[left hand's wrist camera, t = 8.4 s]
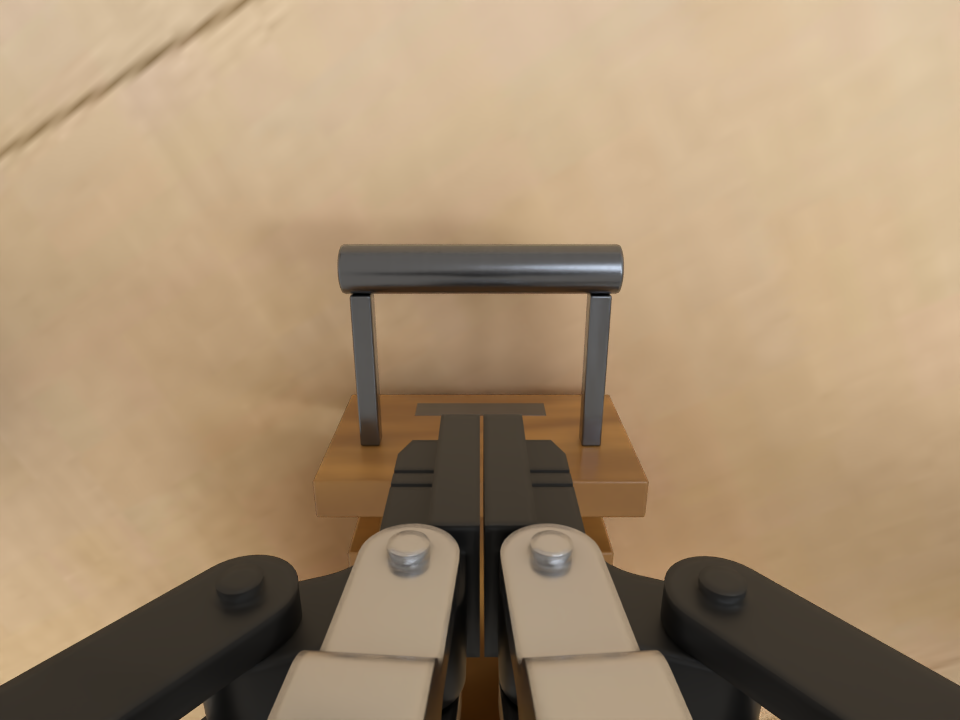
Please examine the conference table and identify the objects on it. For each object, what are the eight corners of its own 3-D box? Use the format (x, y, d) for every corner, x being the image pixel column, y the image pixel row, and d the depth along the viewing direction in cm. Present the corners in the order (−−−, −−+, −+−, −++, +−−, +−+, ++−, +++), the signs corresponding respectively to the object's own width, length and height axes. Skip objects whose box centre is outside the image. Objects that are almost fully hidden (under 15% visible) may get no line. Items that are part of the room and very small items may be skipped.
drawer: (338, 223, 21) (288, 262, 16) (622, 223, 21) (672, 262, 16) (378, 746, 30) (355, 892, 24) (582, 746, 30) (605, 892, 24)
